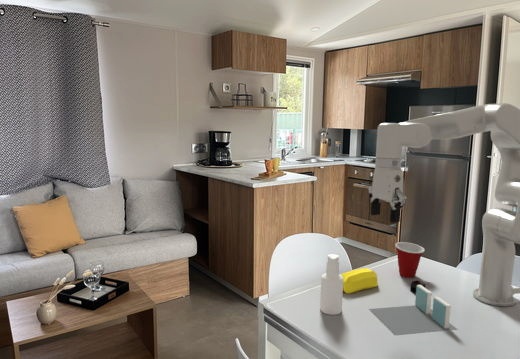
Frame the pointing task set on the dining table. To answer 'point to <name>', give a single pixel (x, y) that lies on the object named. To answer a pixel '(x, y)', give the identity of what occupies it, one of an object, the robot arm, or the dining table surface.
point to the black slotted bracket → (414, 285)
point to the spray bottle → (331, 287)
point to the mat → (408, 320)
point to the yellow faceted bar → (359, 280)
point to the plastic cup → (408, 258)
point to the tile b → (441, 312)
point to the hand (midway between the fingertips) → (384, 218)
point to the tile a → (423, 299)
